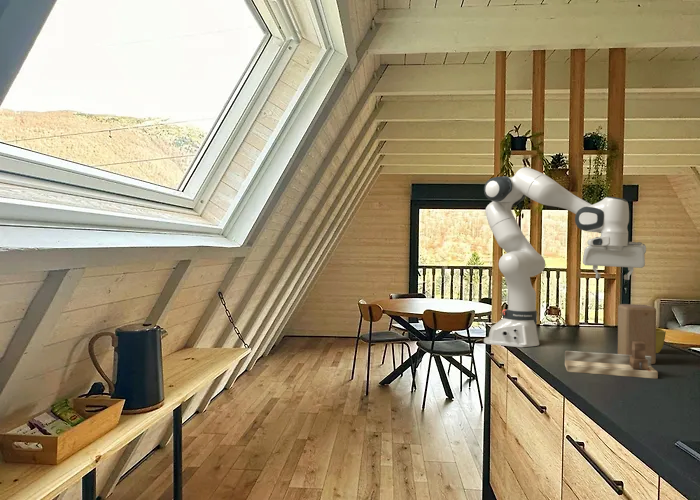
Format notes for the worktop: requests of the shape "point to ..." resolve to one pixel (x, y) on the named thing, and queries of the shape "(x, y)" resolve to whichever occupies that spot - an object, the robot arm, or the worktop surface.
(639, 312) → the wooden block
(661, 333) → the flower pot
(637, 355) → the marking gauge
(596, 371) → the board
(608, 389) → the worktop surface
